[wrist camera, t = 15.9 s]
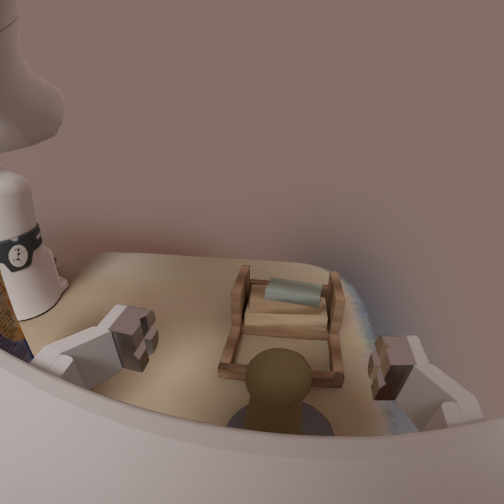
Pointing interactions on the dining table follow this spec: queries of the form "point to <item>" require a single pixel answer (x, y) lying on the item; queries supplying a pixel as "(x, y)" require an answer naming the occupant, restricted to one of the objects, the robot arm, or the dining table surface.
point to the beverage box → (11, 329)
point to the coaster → (311, 421)
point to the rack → (286, 319)
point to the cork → (277, 391)
